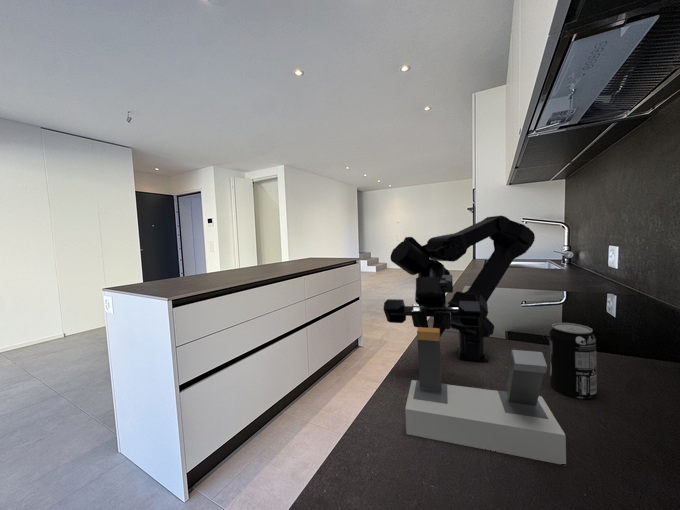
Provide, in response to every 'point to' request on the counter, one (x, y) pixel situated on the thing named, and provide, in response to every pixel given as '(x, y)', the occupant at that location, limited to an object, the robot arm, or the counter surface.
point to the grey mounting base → (485, 421)
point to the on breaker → (525, 377)
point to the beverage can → (573, 360)
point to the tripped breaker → (429, 358)
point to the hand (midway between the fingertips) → (430, 352)
